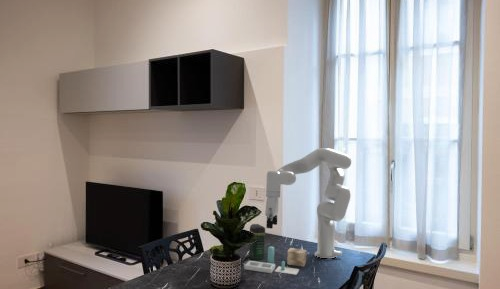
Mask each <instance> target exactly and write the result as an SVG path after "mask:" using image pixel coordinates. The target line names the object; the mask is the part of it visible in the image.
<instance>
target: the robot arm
mask: <svg viewBox="0 0 500 289" xmlns="http://www.w3.org/2000/svg"><path fill="white" fill-rule="evenodd" d="M322 164H326V166H327V168H328V170H329V178H328V181H327V183H326V184H327V185H326V187H325V190H324V196H325V199H328V200H330V201H327V200H326V201H320V202H319V204H318V205H317V207H316V214H317V250H316V251H315V252H314V257H316V256H317V257H316V258H318V257H320V258H319V259H321V258H334V257H336V256H341V257H342V255H343V252H342V251H341V250H336V247H335V232H336V231H335V230H336V225H335V222H341V221H343V219H344V218H345V216H346V213H347V210H348V207H349V203H350V201H351V191H350V189H349V188H348V187H347V186H344V181H345V173H344V170H347V169H349V167H351V165H352V158H351V156H349V155H348V154H346V153H344V152H341V151H338V150H335V149H333V148H324V147H322V148H316V149H315V150H314V151H312V152H309V153H308V154H306V155H305V156H304V157H302V158H300V159H297V160H294V161H292V162H289V163H287V164H285V165H283V166H282V167H280V168H278V169H277V170H268V171H267V172H266V187H265V188H266V189H265V197H266V202H265V212H264V213H265V214H264V215H265V216H266V224H265V225H266V227H265V229H271V230H272V229H273V225H276V226H277V225H278V214H279V198H281V185H284V186H291V185H293V184H295V182H296V181H297V177H296V175H299V174H300V175H301V174H305V173H309V172H311V171H313V170H314V169H315V168H317V167H320V165H322ZM331 201H332V202H331ZM335 255H336V256H335ZM336 258H337V257H336Z"/></svg>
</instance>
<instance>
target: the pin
mask: <svg viewBox="0 0 500 289" xmlns="http://www.w3.org/2000/svg"><path fill="white" fill-rule="evenodd" d="M267 263H271V264H275V246H268V248H267Z"/></svg>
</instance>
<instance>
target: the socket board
mask: <svg viewBox="0 0 500 289" xmlns="http://www.w3.org/2000/svg"><path fill="white" fill-rule="evenodd" d="M243 270H244V271H248V270H249V271H255V272H261V273H266V274H267V273H268V274H273V271H275V270H276V263H274V264H271V263H268V262H262V261H257V260H248V261H247V262H246V264H244V268H243Z"/></svg>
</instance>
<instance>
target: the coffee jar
mask: <svg viewBox="0 0 500 289" xmlns="http://www.w3.org/2000/svg"><path fill="white" fill-rule="evenodd" d="M250 232H252V233H254V234H255V236H256V237H257V241H256V242H254V243H252V244H250V243H249V247H248V248H249V249H248V256H249V258H250V259H252V261H257V260H264V259H265V255H266V254H265V253H266V252H265V251H266V250H265V248H266V247H265V245H266V242H265V241H266V227H264V226H262V225H261V224H259V223H254V224H253V223H252V224H251V225H250V226H249V233H250Z"/></svg>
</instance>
